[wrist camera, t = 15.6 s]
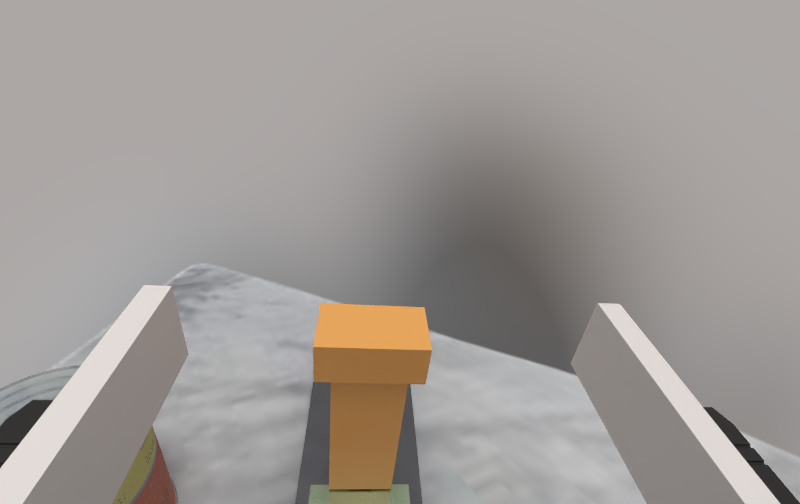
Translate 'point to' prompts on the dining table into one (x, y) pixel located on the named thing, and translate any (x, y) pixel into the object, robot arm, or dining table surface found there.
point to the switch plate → (313, 483)
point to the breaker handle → (368, 385)
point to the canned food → (148, 476)
